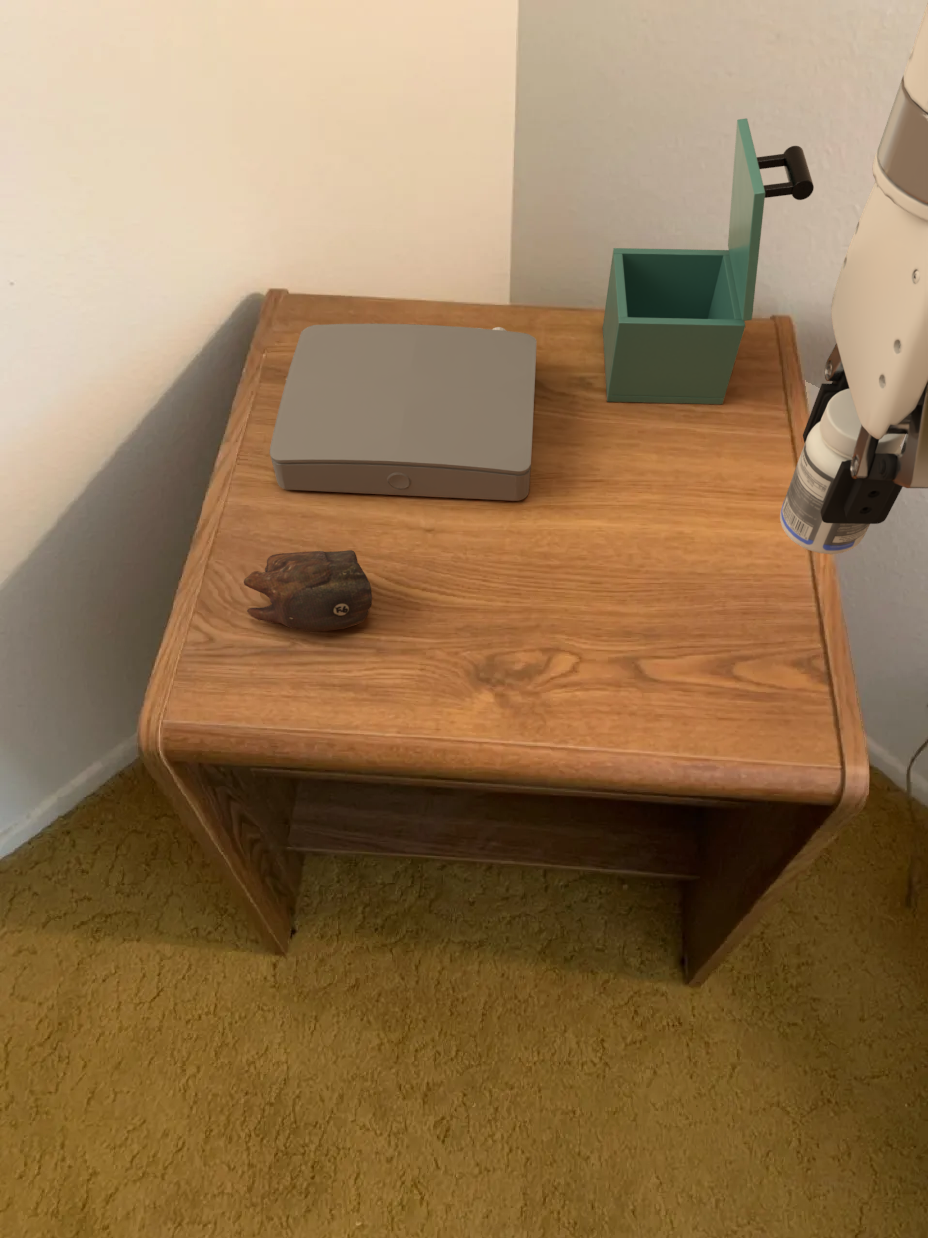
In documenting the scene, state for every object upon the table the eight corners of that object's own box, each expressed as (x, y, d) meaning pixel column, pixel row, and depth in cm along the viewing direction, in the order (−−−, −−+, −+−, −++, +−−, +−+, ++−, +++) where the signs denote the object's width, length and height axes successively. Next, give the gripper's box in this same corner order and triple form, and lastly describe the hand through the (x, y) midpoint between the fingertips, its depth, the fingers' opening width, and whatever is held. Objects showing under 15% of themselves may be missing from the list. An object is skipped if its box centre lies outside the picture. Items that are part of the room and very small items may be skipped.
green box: (606, 401, 85) (618, 322, 78) (602, 327, 91) (613, 247, 84) (722, 404, 85) (745, 325, 77) (710, 329, 91) (731, 249, 83)
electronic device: (312, 346, 90) (304, 302, 86) (535, 355, 89) (538, 311, 85) (275, 492, 79) (264, 450, 75) (528, 504, 78) (531, 463, 74)
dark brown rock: (225, 588, 67) (358, 567, 66) (246, 548, 73) (370, 529, 71) (249, 656, 70) (378, 638, 69) (268, 614, 76) (387, 596, 74)
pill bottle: (867, 503, 53) (922, 391, 46) (859, 565, 51) (916, 456, 44) (783, 485, 54) (825, 372, 47) (771, 545, 52) (814, 435, 45)
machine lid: (754, 193, 68) (824, 184, 67) (737, 118, 74) (800, 110, 73) (742, 321, 77) (803, 314, 76) (727, 245, 83) (784, 239, 82)
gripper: (1183, 281, 30) (952, 610, 44) (1024, 36, 39) (878, 374, 54) (943, 281, 30) (794, 607, 45) (843, 38, 40) (748, 373, 55)
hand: (841, 477), depth 49 cm, fingers closed on pill bottle, 4 cm apart
